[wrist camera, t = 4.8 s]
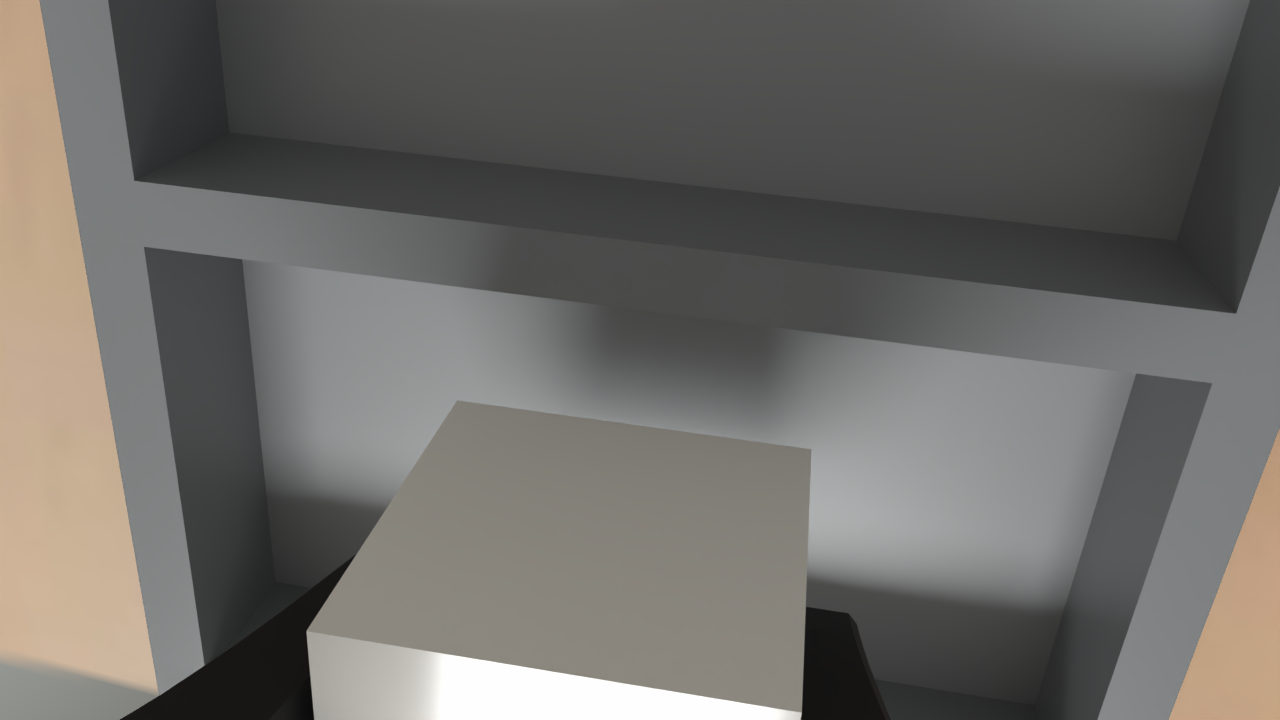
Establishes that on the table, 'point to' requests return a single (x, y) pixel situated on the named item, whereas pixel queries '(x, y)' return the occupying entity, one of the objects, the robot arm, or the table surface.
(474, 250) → the divided tray
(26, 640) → the table surface
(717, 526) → the white block
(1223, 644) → the table surface
